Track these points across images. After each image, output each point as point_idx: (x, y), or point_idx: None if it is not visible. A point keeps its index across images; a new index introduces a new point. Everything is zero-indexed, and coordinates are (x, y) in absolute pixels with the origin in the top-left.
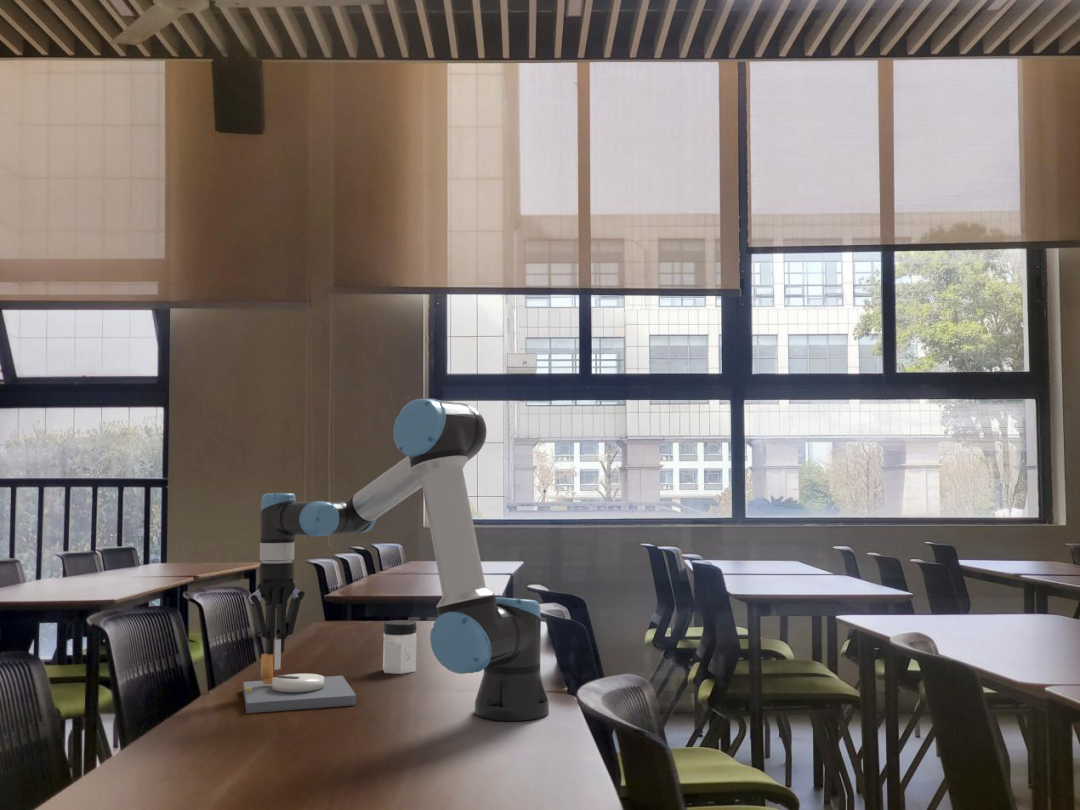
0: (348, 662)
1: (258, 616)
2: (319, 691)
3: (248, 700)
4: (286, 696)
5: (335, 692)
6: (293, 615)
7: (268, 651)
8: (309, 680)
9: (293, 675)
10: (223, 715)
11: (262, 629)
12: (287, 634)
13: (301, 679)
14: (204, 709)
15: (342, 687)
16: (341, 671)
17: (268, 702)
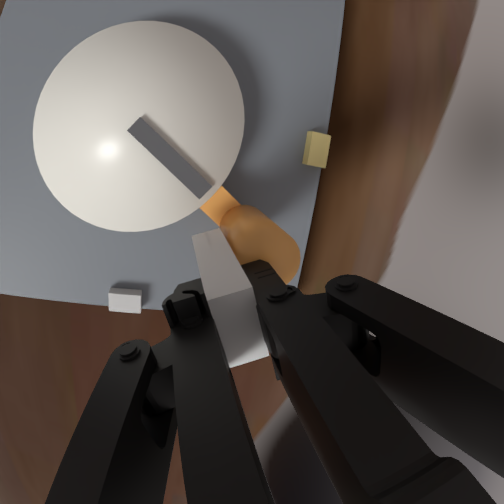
0: (25, 473)
1: (495, 340)
2: None
3: (336, 25)
4: (212, 11)
5: (46, 16)
6: (93, 468)
7: (270, 266)
8: (101, 65)
9: (138, 199)
10: (382, 26)
11: (388, 299)
12: (153, 350)
13: (125, 96)
14: (410, 116)
15: (2, 88)
16: (19, 421)
17: None
